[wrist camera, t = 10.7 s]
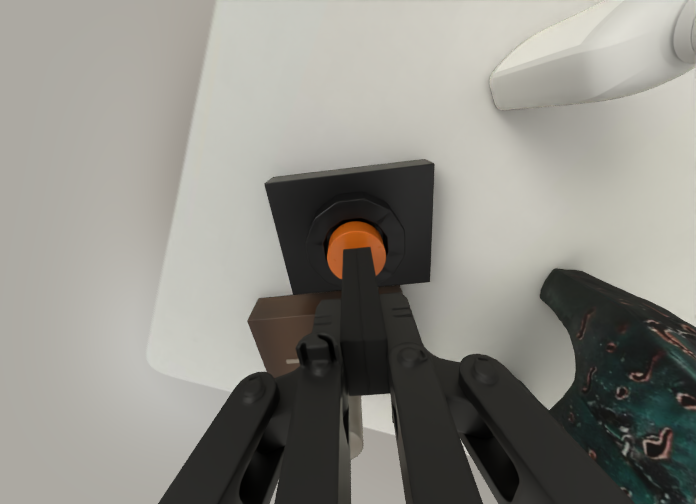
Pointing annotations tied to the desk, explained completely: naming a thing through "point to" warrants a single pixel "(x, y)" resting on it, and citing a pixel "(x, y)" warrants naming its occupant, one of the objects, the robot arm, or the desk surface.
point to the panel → (288, 326)
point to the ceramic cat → (628, 387)
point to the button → (355, 245)
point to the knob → (355, 425)
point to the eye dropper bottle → (599, 55)
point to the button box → (355, 205)
